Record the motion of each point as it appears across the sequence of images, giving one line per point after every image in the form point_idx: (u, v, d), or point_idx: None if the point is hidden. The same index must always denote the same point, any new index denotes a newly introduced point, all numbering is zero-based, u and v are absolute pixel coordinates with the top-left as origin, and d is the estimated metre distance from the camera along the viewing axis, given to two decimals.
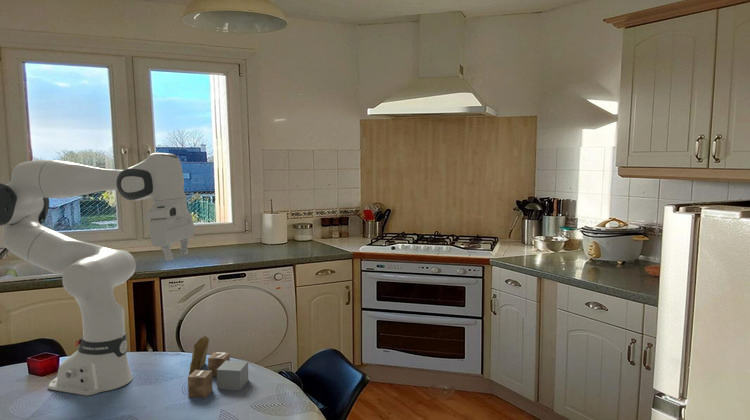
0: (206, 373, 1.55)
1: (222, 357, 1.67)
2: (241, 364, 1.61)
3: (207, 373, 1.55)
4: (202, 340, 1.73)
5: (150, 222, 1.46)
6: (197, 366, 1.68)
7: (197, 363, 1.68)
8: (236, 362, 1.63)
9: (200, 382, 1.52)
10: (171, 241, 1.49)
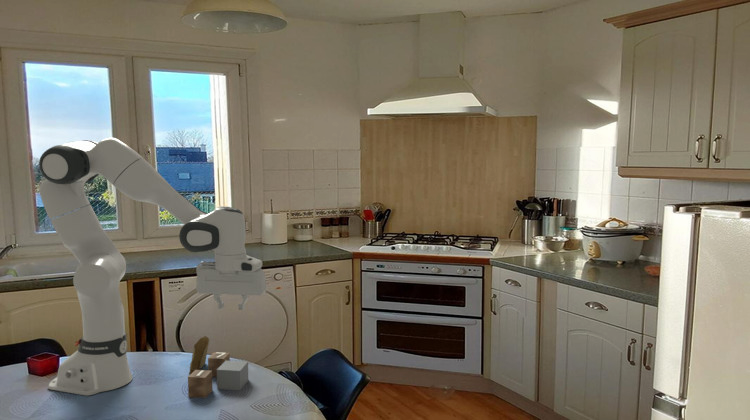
0: (206, 373, 1.55)
1: (222, 357, 1.67)
2: (241, 364, 1.61)
3: (207, 373, 1.55)
4: (203, 340, 1.73)
5: (258, 273, 1.55)
6: (197, 366, 1.68)
7: (197, 363, 1.68)
8: (236, 362, 1.63)
9: (200, 382, 1.52)
10: None
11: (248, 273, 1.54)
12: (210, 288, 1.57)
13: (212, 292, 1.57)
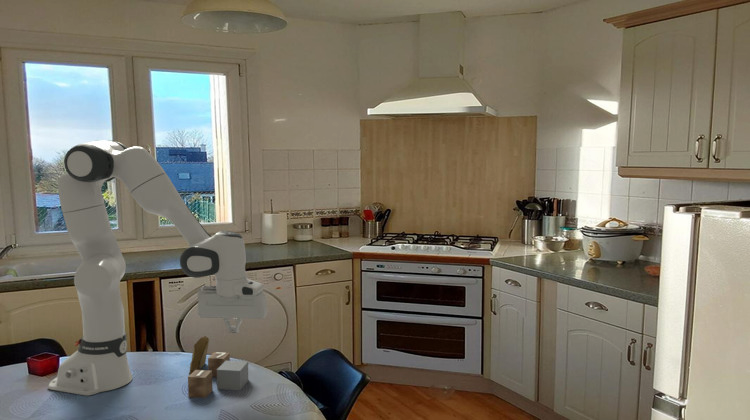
0: (206, 373, 1.55)
1: (222, 357, 1.67)
2: (241, 364, 1.61)
3: (207, 373, 1.55)
4: (202, 340, 1.73)
5: (259, 297, 1.56)
6: (197, 366, 1.68)
7: (197, 363, 1.68)
8: (236, 362, 1.63)
9: (200, 382, 1.52)
10: None
11: (249, 297, 1.55)
12: (211, 312, 1.58)
13: (214, 316, 1.58)
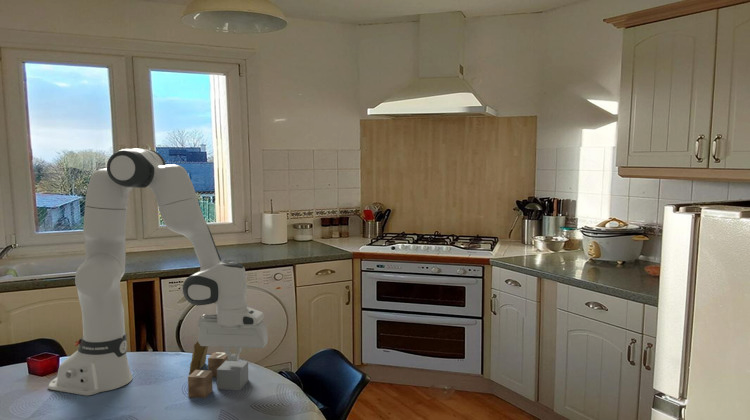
0: (206, 373, 1.55)
1: (222, 357, 1.67)
2: (241, 364, 1.61)
3: (207, 373, 1.55)
4: None
5: (260, 326, 1.57)
6: (197, 366, 1.68)
7: (197, 363, 1.68)
8: (236, 362, 1.63)
9: (200, 382, 1.52)
10: None
11: (250, 327, 1.56)
12: (212, 341, 1.59)
13: (214, 345, 1.59)
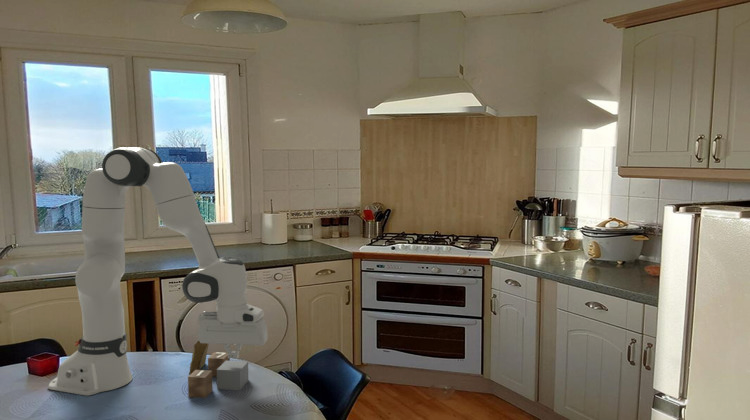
0: (206, 373, 1.55)
1: (222, 357, 1.67)
2: (241, 364, 1.61)
3: (207, 373, 1.55)
4: None
5: (260, 323, 1.57)
6: (197, 366, 1.68)
7: (197, 363, 1.68)
8: (236, 362, 1.63)
9: (200, 382, 1.52)
10: None
11: (249, 324, 1.56)
12: (212, 338, 1.59)
13: (214, 342, 1.59)
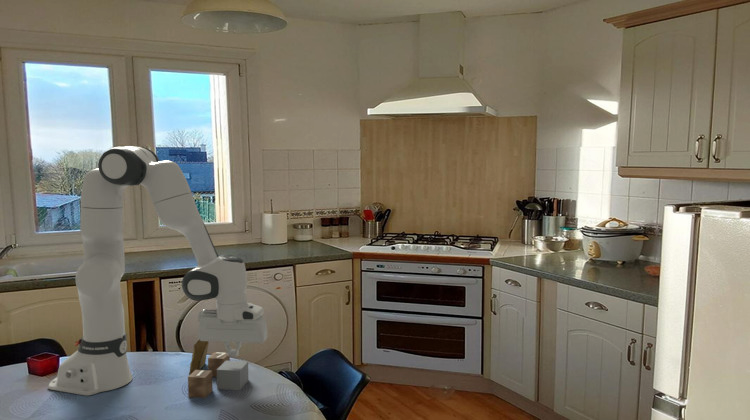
0: (206, 373, 1.55)
1: (222, 357, 1.67)
2: (241, 364, 1.61)
3: (207, 373, 1.55)
4: None
5: (259, 321, 1.56)
6: (197, 366, 1.68)
7: (197, 363, 1.68)
8: (236, 362, 1.63)
9: (200, 382, 1.52)
10: None
11: (249, 321, 1.56)
12: (212, 336, 1.58)
13: (214, 340, 1.59)
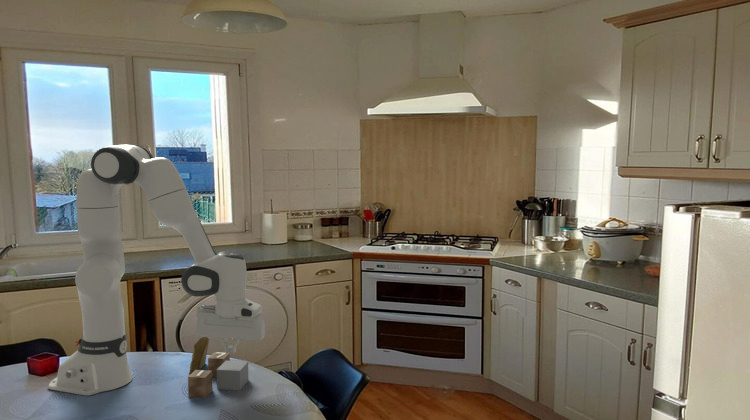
0: (206, 373, 1.55)
1: (222, 357, 1.67)
2: (241, 364, 1.61)
3: (207, 373, 1.55)
4: (202, 340, 1.73)
5: (258, 319, 1.56)
6: (197, 366, 1.68)
7: (197, 363, 1.68)
8: (236, 362, 1.63)
9: (200, 382, 1.52)
10: None
11: (248, 319, 1.56)
12: (209, 331, 1.58)
13: (211, 336, 1.58)
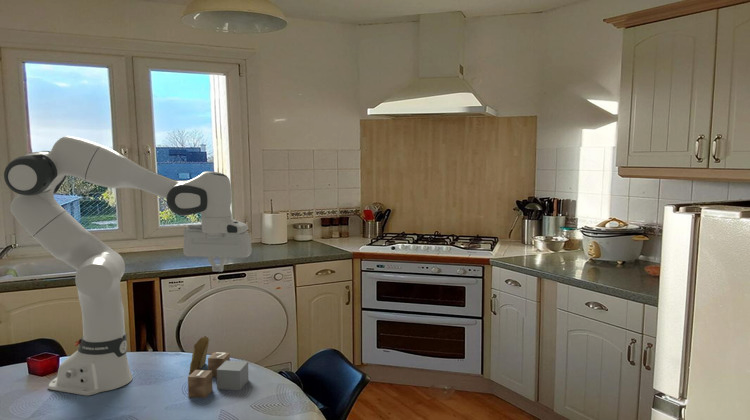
0: (206, 373, 1.55)
1: (222, 357, 1.67)
2: (241, 364, 1.61)
3: (207, 373, 1.55)
4: (202, 340, 1.73)
5: (243, 235, 1.59)
6: (197, 366, 1.68)
7: (197, 363, 1.68)
8: (236, 362, 1.63)
9: (200, 382, 1.52)
10: None
11: (233, 235, 1.59)
12: (197, 250, 1.61)
13: (199, 254, 1.61)
